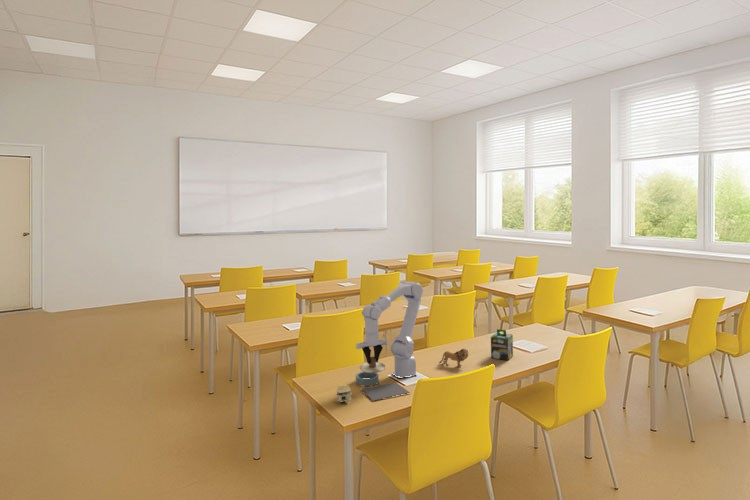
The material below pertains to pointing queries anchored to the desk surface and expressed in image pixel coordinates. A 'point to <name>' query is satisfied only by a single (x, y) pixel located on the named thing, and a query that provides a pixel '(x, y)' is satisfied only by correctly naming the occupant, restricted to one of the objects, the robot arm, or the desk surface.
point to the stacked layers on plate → (343, 394)
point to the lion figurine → (455, 356)
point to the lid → (372, 366)
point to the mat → (384, 391)
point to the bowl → (367, 382)
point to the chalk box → (502, 345)
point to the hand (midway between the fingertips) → (372, 362)
